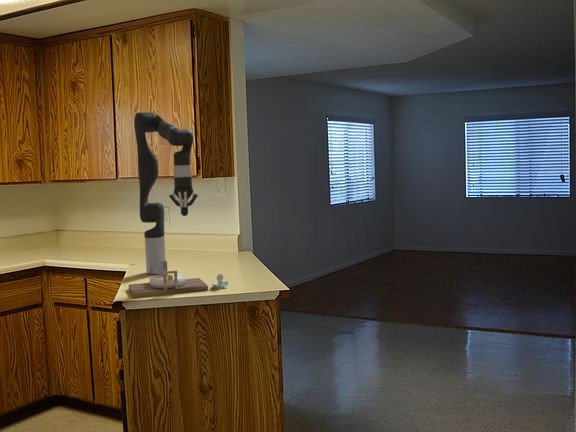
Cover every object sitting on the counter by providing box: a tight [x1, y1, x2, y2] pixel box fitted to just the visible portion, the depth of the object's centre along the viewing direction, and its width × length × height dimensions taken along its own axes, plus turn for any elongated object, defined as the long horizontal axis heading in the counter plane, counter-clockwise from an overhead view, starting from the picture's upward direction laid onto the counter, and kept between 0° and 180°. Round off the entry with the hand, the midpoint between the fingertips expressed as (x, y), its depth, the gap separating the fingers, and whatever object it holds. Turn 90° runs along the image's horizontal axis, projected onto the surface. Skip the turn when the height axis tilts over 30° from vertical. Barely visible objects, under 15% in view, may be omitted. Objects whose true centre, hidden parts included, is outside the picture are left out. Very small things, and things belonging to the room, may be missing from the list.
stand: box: [128, 270, 209, 299], centre depth 270 cm, size 18×30×9 cm, turn 109°
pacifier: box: [210, 273, 229, 290], centre depth 271 cm, size 7×6×6 cm
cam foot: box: [149, 257, 186, 288], centre depth 274 cm, size 23×14×9 cm, turn 24°
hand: (184, 215), depth 284 cm, fingers closed
